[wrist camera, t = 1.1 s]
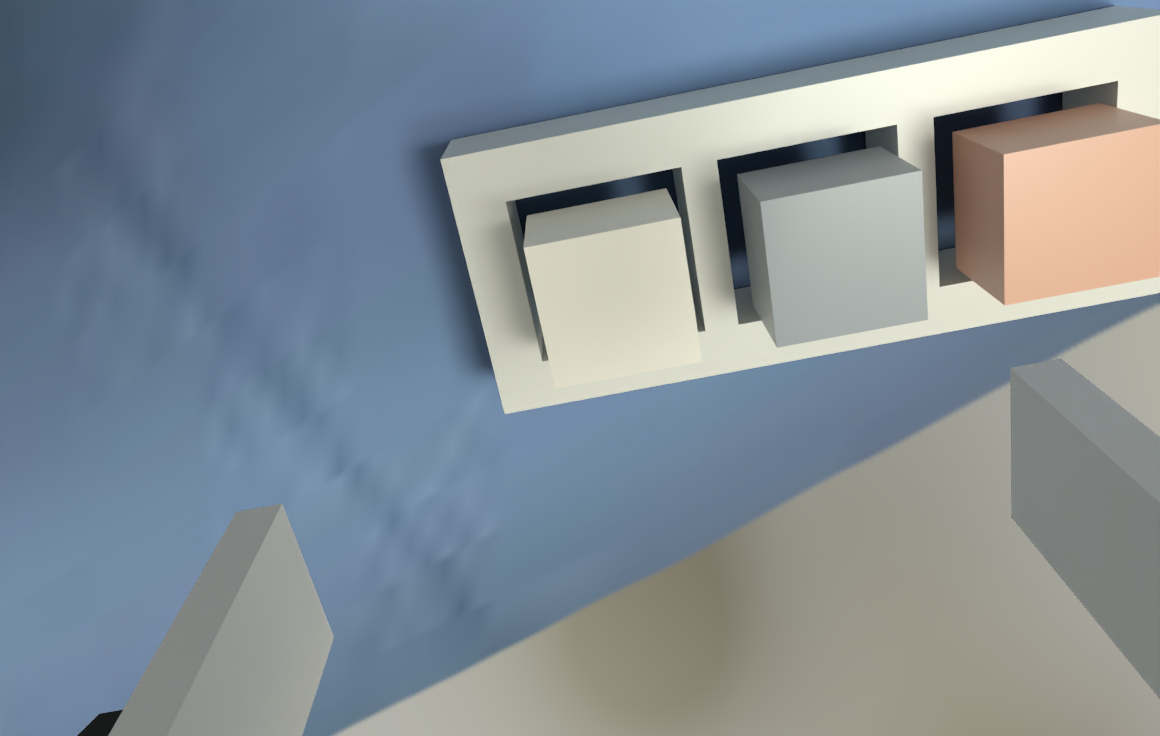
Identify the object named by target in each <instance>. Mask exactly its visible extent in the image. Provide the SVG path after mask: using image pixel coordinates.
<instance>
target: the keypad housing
mask: <svg viewBox="0 0 1160 736" xmlns="http://www.w3.org/2000/svg"><path fill="white" fill-rule="evenodd" d="M1059 92H1062V110H1066V109H1071V108H1076V107H1081V106H1086V105H1092V104H1097V103H1101V104H1104V105H1108V106H1112V107H1115V108H1119V109H1123V110H1127V111H1130V112H1134V113H1138V114H1141V115H1145V116H1149V117H1153V118H1156V119H1160V10H1157V9H1146V8H1134V7H1123V6H1112V7H1107V8H1102V9H1097V10H1092V11H1087V12H1082V13H1077V14H1072V15H1068V16H1063V17H1058V18H1053V19H1048V20H1043V21H1038V22H1033V23H1028V24H1023V25H1018V26H1013V27H1008V28H1003V29H998V30H993V31H988V32H983V33H978V34H973V35H968V36H963V37H959V38H954V39H949V40H944V41H939V42H934V43H929V44H924V45H919V46H914V47H909V48H904V49H899V50H894V51H889V52H884V53H879V54H874V55H869V56H864V57H859V58H855V59H850V60H845V61H840V62H835V63H830V64H825V65H820V66H815V67H810V68H805V69H800V70H795V71H790V72H785V73H780V74H775V75H770V76H765V77H760V78H755V79H751V80H746V81H741V82H736V83H731V84H726V85H721V86H716V87H711V88H706V89H701V90H696V91H691V92H686V93H681V94H676V95H671V96H666V97H661V98H656V99H651V100H647V101H642V102H637V103H632V104H627V105H622V106H617V107H612V108H607V109H602V110H597V111H592V112H587V113H582V114H577V115H572V116H567V117H562V118H557V119H552V120H547V121H543V122H538V123H533V124H528V125H523V126H518V127H513V128H508V129H503V130H498V131H493V132H488V133H483V134H478V135H473V136H468V137H463V138H458V139H453V140H451V141H450V143H449V145H448V147H447V148H446V150H445V152H444V154H443V156H442V157H441V159H440V160H441V164H442V168H443V172H444V176H445V180H446V184H447V188H448V192H449V196H450V200H451V204H452V208H453V212H454V216H455V220H456V224H457V227H458V231H459V235H460V239H461V243H462V247H463V251H464V255H465V259H466V263H467V267H468V271H469V275H470V279H471V283H472V287H473V291H474V295H475V298H476V302H477V306H478V310H479V314H480V318H481V322H482V326H483V330H484V334H485V338H486V342H487V346H488V350H489V354H490V358H491V362H492V365H493V369H494V373H495V377H496V381H497V385H498V389H499V393H500V397H501V401H502V405H503V409H504V413H505V414H508V413H513V412H518V411H524V410H529V409H535V408H540V407H545V406H551V405H556V404H562V403H567V402H572V401H578V400H583V399H589V398H594V397H599V396H605V395H610V394H616V393H621V392H626V391H632V390H637V389H643V388H648V387H653V386H659V385H664V384H670V383H675V382H680V381H686V380H691V379H697V378H702V377H707V376H713V375H718V374H724V373H729V372H734V371H740V370H745V369H751V368H756V367H761V366H767V365H772V364H778V363H783V362H788V361H794V360H799V359H805V358H810V357H815V356H821V355H826V354H832V353H837V352H842V351H848V350H853V349H859V348H864V347H870V346H875V345H880V344H886V343H891V342H897V341H902V340H907V339H913V338H918V337H924V336H929V335H934V334H940V333H945V332H951V331H956V330H961V329H967V328H972V327H978V326H983V325H988V324H994V323H999V322H1005V321H1010V320H1015V319H1021V318H1026V317H1032V316H1037V315H1042V314H1048V313H1053V312H1059V311H1064V310H1069V309H1075V308H1080V307H1086V306H1091V305H1096V304H1102V303H1107V302H1113V301H1118V300H1123V299H1129V298H1134V297H1140V296H1145V295H1150V294H1156V293H1160V277H1155V278H1150V279H1144V280H1139V281H1134V282H1128V283H1123V284H1117V285H1112V286H1107V287H1101V288H1096V289H1091V290H1085V291H1080V292H1074V293H1069V294H1064V295H1058V296H1053V297H1048V298H1042V299H1037V300H1031V301H1026V302H1021V303H1015V304H1010V305H1003V304H1002V303H1001V302H999V301H998V300H997V299H996V298H994V297H993V296H992V295H990V294H989V293H988V292H986V291H985V290H984V289H983V288H981V287H980V286H979V285H977V284H976V283H975V282H974V281H972V280H971V279H970V278H968V277H967V276H966V275H965V274H963V273H962V272H961V271H959V270H958V269H957V268H956V247H955V248H949V249H944V250H939V251H938V229H937V201H936V173H935V145H934V117H937V116H942V115H947V114H953V113H958V112H963V111H968V110H973V109H978V108H983V107H988V106H993V105H998V104H1003V103H1008V102H1013V101H1018V100H1023V99H1028V98H1034V97H1039V96H1044V95H1049V94H1054V93H1059ZM861 131H865V136H866V149H868V148H873V147H878V146H881V147H882V148H884V149H886V150H887V151H889V152H891V153H893V154H894V155H896V156H898V157H900V158H901V159H903V160H905V161H906V162H908V163H910V164H912V165H913V166H915V167H917V168H918V169H920V170H922V187H923V211H924V235H925V259H926V283H927V307H928V320H924V321H918V322H913V323H908V324H902V325H897V326H892V327H886V328H881V329H875V330H870V331H865V332H859V333H854V334H849V335H843V336H838V337H832V338H827V339H822V340H816V341H811V342H806V343H800V344H795V345H789V346H784V347H779V348H777V347H776V345H775V343H774V342H773V340H772V338H771V336H770V335H769V333H768V331H767V329H766V328H765V326H764V324H763V322H762V321H761V319H760V317H759V315H758V314H757V312H756V310H755V308H754V307H753V300H752V292H751V286H749V287H744V288H739V289H734V286H733V278H732V271H731V263H730V256H729V248H728V241H727V233H726V225H725V218H724V210H723V203H722V195H721V187H720V180H719V172H718V165H717V160H720V159H725V158H730V157H735V156H740V155H745V154H750V153H755V152H760V151H765V150H770V149H775V148H780V147H786V146H791V145H796V144H801V143H806V142H811V141H816V140H821V139H826V138H831V137H836V136H841V135H846V134H851V133H856V132H861ZM669 169H672V170H673V176H674V183H675V189H676V196H677V202H678V209H679V215H680V217H681V224H682V230H683V237H684V243H685V250H686V257H687V263H688V270H689V276H690V283H691V290H692V296H693V303H694V309H695V316H696V322H697V329H698V336H699V342H700V349H701V355H702V362H698V363H693V364H687V365H682V366H677V367H671V368H666V369H660V370H655V371H650V372H644V373H639V374H634V375H628V376H623V377H617V378H612V379H607V380H601V381H596V382H591V383H585V384H580V385H574V386H569V387H564V388H558V389H555V386H554V381H553V377H552V372H551V368H550V363H549V359H548V355H547V350H546V346H545V341H544V337H543V332H542V328H541V324H540V319H539V315H538V310H537V306H536V301H535V297H534V293H533V288H532V284H531V279H530V275H529V270H528V266H527V262H526V257H525V253H524V248H523V247H524V238H523V233H522V229H521V224H520V220H519V215H518V211H517V207H516V202H515V200H517V199H522V198H527V197H533V196H538V195H543V194H548V193H553V192H558V191H563V190H568V189H573V188H578V187H583V186H588V185H593V184H598V183H603V182H608V181H613V180H619V179H624V178H629V177H634V176H639V175H644V174H649V173H654V172H659V171H664V170H669Z"/></svg>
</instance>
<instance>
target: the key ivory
mask: <svg viewBox="0 0 1160 736" xmlns="http://www.w3.org/2000/svg"><path fill="white" fill-rule="evenodd" d="M523 248H524V253H525V257H526V262H527V266H528V270H529V275H530V279H531V284H532V288H533V293H534V297H535V301H536V306H537V310H538V315H539V319H540V324H541V328H542V332H543V337H544V341H545V346H546V350H547V355H548V359H549V363H550V368H551V372H552V377H553V381H554V386H555V389H558V388H564V387H569V386H574V385H580V384H585V383H591V382H596V381H601V380H607V379H612V378H617V377H623V376H628V375H634V374H639V373H644V372H650V371H655V370H660V369H666V368H671V367H677V366H682V365H687V364H693V363H698V362H702V355H701V349H700V342H699V336H698V329H697V322H696V316H695V309H694V303H693V296H692V290H691V283H690V276H689V270H688V263H687V257H686V250H685V243H684V237H683V230H682V224H681V217H680V215H679V213H678V211H677V209H676V207H675V205H674V203H673V201H672V199H671V197H670V195H669V193H668V191H667V188H664V189H659V190H654V191H649V192H644V193H639V194H634V195H629V196H624V197H618V198H613V199H608V200H603V201H598V202H593V203H588V204H583V205H578V206H573V207H568V208H562V209H557V210H552V211H547V212H542V213H537V214H532V215H527V218H526V228H525V238H524V247H523Z"/></svg>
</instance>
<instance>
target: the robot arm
mask: <svg viewBox="0 0 1160 736" xmlns="http://www.w3.org/2000/svg"><path fill="white" fill-rule="evenodd" d="M1010 381H1011V496H1012V497H1011V502H1012V518H1013V520H1014V521H1015V522H1016V523H1017V525H1018V526H1019V527H1020V528H1021V529H1022V531H1023V532H1024V533H1025V534H1026V536H1027V537H1028V538H1029V539H1030V540H1031V542H1032V543H1033V544H1034V545H1035V547H1036V548H1037V549H1038V550H1039V552H1040V553H1041V554H1042V555H1043V556H1044V558H1045V559H1046V560H1047V561H1048V563H1049V564H1050V565H1051V566H1052V567H1053V569H1054V570H1055V571H1056V572H1057V574H1058V575H1059V576H1060V577H1061V579H1062V580H1063V581H1064V582H1065V583H1066V585H1067V586H1068V587H1069V588H1070V589H1071V591H1072V592H1073V593H1074V594H1075V596H1076V597H1077V598H1078V599H1079V600H1080V602H1081V603H1082V604H1083V605H1084V607H1085V608H1086V609H1087V610H1088V611H1089V613H1090V614H1091V615H1092V617H1093V618H1094V619H1095V620H1096V621H1097V623H1098V624H1099V625H1100V626H1101V627H1102V629H1103V630H1104V631H1105V632H1106V634H1107V635H1108V636H1109V637H1110V638H1111V640H1112V641H1113V642H1114V643H1115V645H1116V646H1117V647H1118V648H1119V650H1120V651H1121V652H1122V653H1123V654H1124V656H1125V657H1126V658H1127V659H1128V660H1129V662H1130V663H1131V664H1132V666H1133V667H1134V668H1135V669H1136V670H1137V672H1138V673H1139V674H1140V675H1141V677H1142V678H1143V679H1144V680H1145V681H1146V683H1147V684H1148V685H1149V686H1150V688H1151V689H1152V690H1153V691H1154V693H1155V694H1156V695H1157V696H1158V697H1159V699H1160V437H1159V436H1158V435H1157V434H1155V433H1154V432H1153V431H1152V430H1150V429H1149V428H1148V427H1146V426H1145V425H1144V424H1143V423H1141V422H1140V421H1139V420H1138V419H1136V418H1135V417H1134V416H1132V415H1131V414H1130V413H1129V412H1127V411H1126V410H1125V409H1124V408H1122V407H1121V406H1120V405H1119V404H1117V403H1116V402H1115V401H1114V400H1112V399H1111V398H1110V397H1109V396H1107V395H1106V394H1105V393H1103V392H1102V391H1101V390H1100V389H1099V388H1097V387H1096V386H1095V385H1094V384H1092V383H1091V382H1090V381H1088V380H1087V379H1086V378H1085V377H1083V376H1082V375H1081V374H1080V373H1078V372H1077V371H1076V370H1075V369H1073V368H1072V367H1071V366H1070V365H1068V364H1067V363H1066V362H1064V361H1063V360H1062V359H1056V360H1051V361H1045V362H1040V363H1034V364H1029V365H1024V366H1018V367H1013V368H1010ZM333 639H334V636H333V634H332V631H331V629H330V626H329V623H328V621H327V618H326V616H325V613H324V610H323V608H322V605H321V603H320V600H319V598H318V595H317V592H316V590H315V587H314V585H313V582H312V579H311V577H310V574H309V572H308V569H307V566H306V564H305V561H304V559H303V556H302V554H301V551H300V548H299V546H298V543H297V541H296V538H295V535H294V533H293V530H292V528H291V525H290V523H289V520H288V517H287V515H286V512H285V510H284V507H283V504H277V505H272V506H266V507H261V508H256V509H250V510H245V511H240V512H236V513H235V515H234V517H233V519H232V520H231V522H230V524H229V526H228V527H227V529H226V531H225V533H224V534H223V536H222V538H221V540H220V541H219V543H218V545H217V547H216V548H215V550H214V552H213V554H212V555H211V557H210V559H209V561H208V562H207V564H206V566H205V568H204V569H203V571H202V573H201V575H200V576H199V578H198V580H197V582H196V583H195V585H194V587H193V589H192V590H191V592H190V594H189V596H188V597H187V599H186V601H185V603H184V604H183V606H182V608H181V610H180V611H179V613H178V615H177V617H176V618H175V620H174V622H173V624H172V625H171V627H170V629H169V631H168V632H167V634H166V636H165V638H164V639H163V641H162V643H161V645H160V646H159V648H158V650H157V652H156V653H155V655H154V657H153V658H152V660H151V662H150V664H149V665H148V667H147V669H146V671H145V672H144V674H143V676H142V678H141V679H140V681H139V683H138V685H137V686H136V688H135V690H134V692H133V693H132V695H131V697H130V699H129V700H128V702H127V704H126V706H125V707H124V709H123V710H119V711H114V712H108V713H102V714H99V715H98V716H97V717H96V718H95V719H94V720H93V721H92V722H91V723H90V724H89V725H88V726H87V727H86V728H85V729H84V730H83V731H82V732H81V733H80V734H79V735H77V736H302V735H303V731H304V728H305V725H306V722H307V719H308V716H309V713H310V710H311V707H312V704H313V701H314V697H315V694H316V691H317V688H318V685H319V682H320V679H321V676H322V673H323V670H324V667H325V663H326V660H327V657H328V654H329V651H330V648H331V645H332V642H333Z"/></svg>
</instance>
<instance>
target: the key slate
mask: <svg viewBox="0 0 1160 736" xmlns="http://www.w3.org/2000/svg"><path fill="white" fill-rule="evenodd" d="M737 179H738V187H739V195H740V203H741V211H742V219H743V227H744V235H745V244H746V252H747V260H748V268H749V276H750V284H751V292H752V300H753V307H754V308H755V310H756V312H757V314H758V315H759V317H760V319H761V321H762V322H763V324H764V326H765V328H766V329H767V331H768V333H769V335H770V336H771V338H772V340H773V342H774V343H775V345H776V347H777V348H779V347H784V346H789V345H795V344H800V343H806V342H811V341H816V340H822V339H827V338H832V337H838V336H843V335H849V334H854V333H859V332H865V331H870V330H875V329H881V328H886V327H892V326H897V325H902V324H908V323H913V322H918V321H924V320H928V307H927V283H926V259H925V235H924V211H923V187H922V170H920V169H918V168H917V167H915V166H913V165H912V164H910V163H908V162H906V161H905V160H903V159H901V158H900V157H898V156H896V155H894V154H893V153H891V152H889V151H887V150H886V149H884V148H882V147H881V146H878V147H873V148H868V149H863V150H858V151H852V152H847V153H842V154H837V155H832V156H827V157H822V158H817V159H812V160H807V161H802V162H796V163H791V164H786V165H781V166H776V167H771V168H766V169H761V170H756V171H751V172H746V173H741V174H737Z"/></svg>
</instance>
